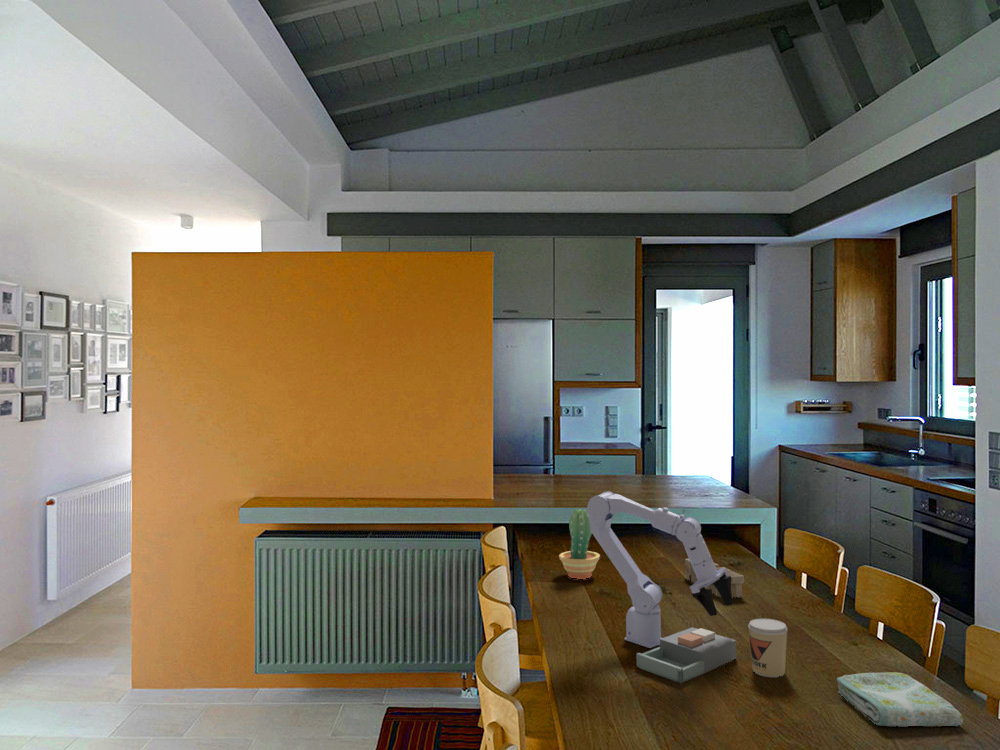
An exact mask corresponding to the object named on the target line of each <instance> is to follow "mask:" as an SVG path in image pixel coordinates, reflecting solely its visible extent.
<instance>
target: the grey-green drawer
mask: <svg viewBox="0 0 1000 750" xmlns="http://www.w3.org/2000/svg"><path fill="white" fill-rule="evenodd" d="M635 655H636V657H635V658H636V668H638V669H641V670H643V671H646V672H649V673H652V674H654V675H657V676H659V677H662V678H665V679H668V680H670V681H672V682H675V683H679V684H682V683H683V684H684V683H685V682H688V681H690V680H692V679H695V678H698V677H699V676H701V675H704V674H705V673H704V661H701V660H700V661H698V662H696V663H693V664H691V665H688V666H686V665H683V664H681V663H678V662H675V661H672V660H669V659H666V658H663V648H662V647H660V646H658V647H654V648H652V649H651V650H650V649H649V650H648V651H644V652H643V653H641V652H636V654H635Z"/></svg>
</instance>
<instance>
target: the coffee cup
mask: <svg viewBox="0 0 1000 750" xmlns="http://www.w3.org/2000/svg"><path fill="white" fill-rule="evenodd" d="M747 627H748V631H749V633H748V634H749V636H748V637H749V644H750V646H749V647H750V658H751V667H752V671H753V672H755V673H754V674H756V675H758V676H762V677H766V678H780V677H783V676H784V675H785V673H786V672H785V671H786V661H787V660H786V658H787V643H788V642H787V639H788V638H787V637H788V636H787V635H788V627H787V625H786V623H784V622H782V621H781V620H777V619H772V618H755V619H752V620H750V621H749V623H748V626H747ZM779 676H780V677H779Z"/></svg>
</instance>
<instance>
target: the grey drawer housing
mask: <svg viewBox="0 0 1000 750" xmlns="http://www.w3.org/2000/svg"><path fill="white" fill-rule="evenodd" d="M697 629H698V628H695V627H693V626H691V627H689V628H687V629H685V630H680V631H678V632H675V633H672V634H670V635H668V636H665V637H661V638H662V639H660V645H659V647H662V648H663V658H666V659H669V660H672V661H675V662H678V663H681V664H683V665H686V666H688V665H691V664H693V663H696V662H698V661H700V660H701V661H704V674H706V673H708V672H711V671H713V670H715V669H717V667H718V668H720V667H721V665H722V666H724V665H726V664H725V663H727V664H728V662H729V663H731V662H733V661H732V660H734V659H736V660H737V640H736V639H733V638H730V637H726V636H722V635H719V634H716V633H715V638H714V639H711V640H709V641H706V642H703V643H701V644H699V645H696V646H693V647H690V646H687V645H684V644H681V643H678V637H679V636H681V635H684V634H687V633H690V634H691V632H692V631H695V630H697ZM730 661H731V662H730ZM734 661H735V660H734ZM723 664H724V665H723ZM719 666H720V667H719Z"/></svg>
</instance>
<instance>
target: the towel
mask: <svg viewBox="0 0 1000 750" xmlns="http://www.w3.org/2000/svg"><path fill="white" fill-rule="evenodd" d="M836 681H837V686H838V689H839V690H838V694H839V693H840V694H841V695H840V694H839V695H840V696H841V697H842V696H843V697H844V698H845V699H846V700H847V701H846V702H848V701H849V702H850V703H851V704H852V705H854V706H855V707H856V708H857V709H858V710H860V711H861V712H862V713H863V714H864V715H866V716H867V717H868V718H869V719H870V720H871V721H872V722H873V723H874V725H875V724H876V725H875V726H880V727H881V726H883V727H896V726H898V727H900V728H901V727H904V728H907V727H908V726H923V727H934V726H935V727H936V726H937V727H941V726H956V727H959V726H958V725H960V726H962V725H963V723H964V718H963V715H962V714H961V713H960V711H959V709H956V708H955V706H954V705H953V704H951V703H950V701H947V700H946V699H945V698H943V697H942V696H940V695H938V694H937V693H936V692H934V691H932V689H930V688H929V687H927V686H926V685H925V684H923V683H921V682H919V681H918V680H917V679H914V678H913V677H911V676H910V675H908V674H905V673H902V672H893V671H892V672H890V671H889V672H888V671H887V672H886V671H885V672H862V673H860V672H859V673H855V674H844V675H842V676H839V677H836ZM843 697H842V698H843ZM844 698H843V699H844ZM845 699H844V700H845ZM849 702H848V703H849ZM850 703H849V704H850ZM851 704H850V705H851ZM852 705H851V706H852ZM855 707H854V708H855ZM856 708H855V709H856ZM857 709H856V710H857ZM858 710H857V711H858ZM872 722H871V723H872ZM873 723H872V724H873Z"/></svg>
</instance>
